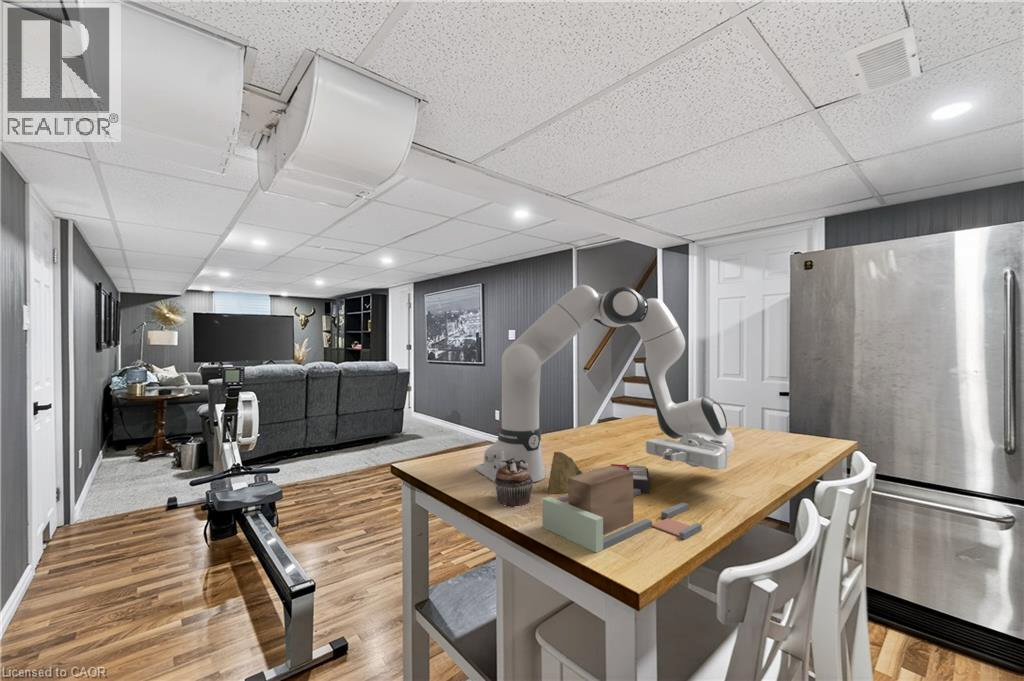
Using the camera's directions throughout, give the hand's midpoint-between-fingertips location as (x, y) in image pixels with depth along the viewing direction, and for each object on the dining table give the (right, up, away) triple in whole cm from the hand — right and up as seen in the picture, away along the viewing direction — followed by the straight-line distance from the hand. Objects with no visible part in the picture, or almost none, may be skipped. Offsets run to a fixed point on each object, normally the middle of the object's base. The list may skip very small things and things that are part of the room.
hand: (667, 457), depth 108 cm
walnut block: (-20, -10, -17) cm, 29 cm away
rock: (-25, -11, +5) cm, 27 cm away
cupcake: (-39, -10, -2) cm, 40 cm away
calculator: (-7, -11, +11) cm, 17 cm away
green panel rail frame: (-15, -10, -13) cm, 22 cm away
